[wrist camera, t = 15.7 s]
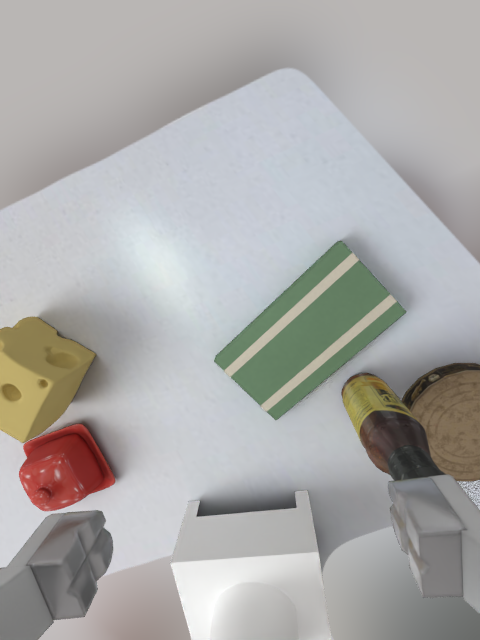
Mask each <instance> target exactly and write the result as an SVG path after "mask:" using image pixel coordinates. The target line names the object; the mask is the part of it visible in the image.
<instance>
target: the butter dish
mask: <svg viewBox="0 0 480 640" xmlns="http://www.w3.org/2000/svg"><path fill="white" fill-rule="evenodd" d="M23 449H24V452H25V454H26V456H27V459H26V461H25V462H24V464H23V465H22V467H21V469H20V471H19V477H20V481H21V483H22V485H23V488H24V490H25V491H26V493H27V495H28V496H29V498H30V499H31V502H32V503H33V504H34V505H35V506H37V507H38V508H39V509H41V510H43V511H53V510H58V509H62V508H65V507H67V506H70V505H72V504H75V503H77V502H78V501H80V500H82V499H83V498H85V497H86V496H87V495H88V494H91V493H94V492H97V491H100V490H103V489H105V488H108V487H110V486H112V485H113V484H114V483H115V477H114V475H113V473H112V471H111V469H110V467H109V466H108V464H107V462H106V460H105V458H104V457H103V455H102V453H101V451H100V449H99V448H98V446H97V444H96V442H95V441H94V439H93V437H92V436H91V434H90V432H89V431H88V429H87V428H86V427H85V426H84V425H82V424H74V425H71V426H68V427H65V428H63V429H60V430H57V431H55V432H52V433H49V434H47V435H44V436H41V437H38V438H35V439H33V440H30V441H28V442H26V443H25V444H24V446H23Z"/></svg>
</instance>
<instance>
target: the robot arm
mask: <svg viewBox="0 0 480 640" xmlns="http://www.w3.org/2000/svg"><path fill="white" fill-rule="evenodd" d="M388 491H389V496H390V498H391V500H392V502H393V505H392V506H391V507H390V512H391V519H392V523H393V528H394V531H395V534H396V537H397V540H398V542H399V545H400V547H401V549H402V551H404V552H405V553H406V554H407V555H409V565H410V570H411V572H412V574H413V576H414V579H415V581H416V583H417V585H418V588H419V590H420V592H421V594H422V596H423V598H426V597H427V598H428V597H463V599H464V600H465V601H466V602H467V603H468V604H470V605H471V606H472V607H473V608H474V609H475V610H476V611H477V612H478V613H480V510H479V509H478V507H477V506H476V505H475V504H474V502H473V501H472V500H471V499H470V497H469V496H468V495H467V494H466V492H465V491H464V490H463V489H462V487H461V486H460V485H459V484H458V482H457V481H456V480H455V479H454V478H453V477H452V476H451V475H449V474H447V475H438V476H430V477H423V478H414V479H405V480H395V481H389V483H388ZM105 522H106V520H105V517H104V515H103V512H102V511H98V510H94V511H80V512H67V513H58V514H51V515H49V516H48V517H46V518H45V519H44V521H43V522H42V523H41V524H40V526H39V527H38V528H37V529H36V531H35V532H34V533H33V534H32V536H31V537H30V538H29V539H28V541H27V542H26V543H25V544H24V546H23V547H22V548H21V550H20V551H19V552H18V553H17V555H16V556H15V557H14V558H13V560H12V561H11V562H10V563H9V565H8V566H7V567H4V568H0V640H38V639H39V638H40V637H41V636H42V635H43V633H44V632H45V631H46V630H47V629H48V628H49V627H50V626H51V625H52V624H53V620H60V619H70V618H79V617H85V615H86V613H87V611H88V609H89V607H90V605H91V602H92V600H93V598H94V596H95V594H96V592H97V590H98V588H97V580H98V579H99V578H100V577H101V576H103V575H104V574H105V573H106V571H107V569H108V567H109V564H110V562H111V558H112V553H113V540H112V537H111V534H110V533H109V532H108V531H107V530H106V529H105V528H103V527H104V524H105Z"/></svg>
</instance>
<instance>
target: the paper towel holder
mask: <svg viewBox="0 0 480 640" xmlns="http://www.w3.org/2000/svg"><path fill="white" fill-rule="evenodd" d="M295 498H296V506H297V508H290V509H279V510H268V511H257V512H245V513H234V514H223V515H212V516H200V517H196V516H197V511H198V507H199V503H200V500H199V501H188V504H187V507H186V511H185V514H184V518H183V521H182V525H181V528H180V532H179V535H178V539H177V542H176V546H175V549H174V552H173V556H172V559H171V566H172V570H173V574H174V577H175V581H176V584H177V588H178V591H179V595H180V599H181V603H182V606H183V610H184V613H185V617H186V621H187V624H188V628H189V632H190V635H191V639H192V640H332V639H331V632H330V625H329V619H328V612H327V606H326V599H325V592H324V585H323V579H322V571H321V565H320V558H319V551H318V546H317V540H316V535H315V529H314V523H313V518H312V512H311V507H310V501H309V496H308V490H305V491H295Z"/></svg>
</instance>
